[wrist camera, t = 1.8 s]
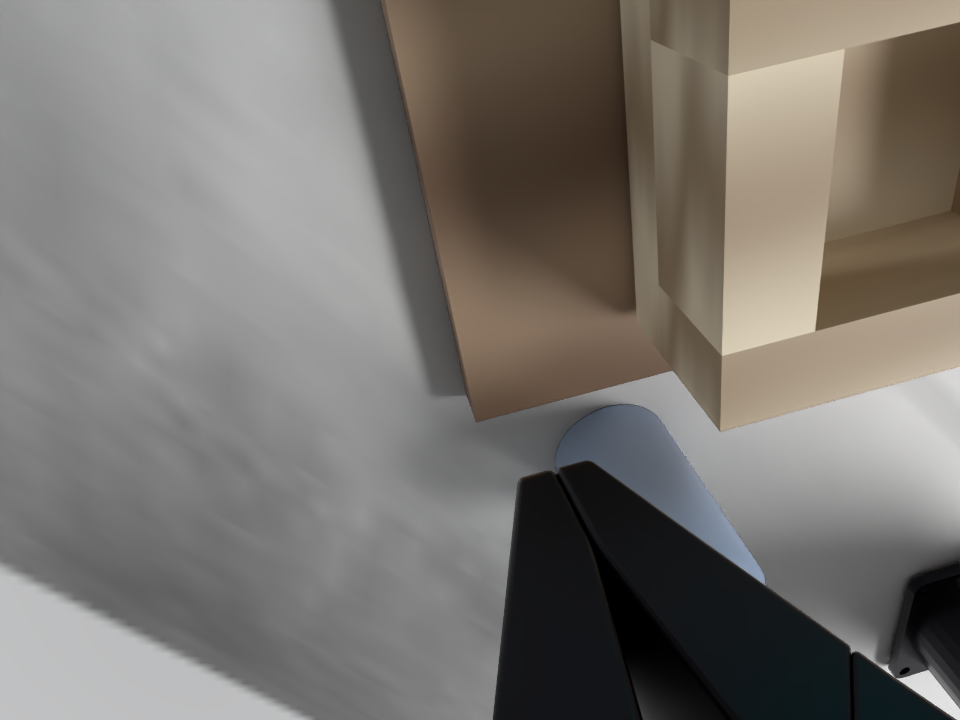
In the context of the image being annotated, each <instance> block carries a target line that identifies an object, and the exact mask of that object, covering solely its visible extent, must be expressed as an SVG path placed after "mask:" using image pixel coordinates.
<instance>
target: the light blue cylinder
mask: <svg viewBox="0 0 960 720" xmlns="http://www.w3.org/2000/svg"><path fill="white" fill-rule="evenodd" d="M585 460H588V461H592V462H594V463H595V464H597V465H598V466H600V467H601V468H602V469H604V470H605V471H607V472H608V473H609V474H611V475H612V476H614V477H615V478H616V479H618V480H619V481H620V482H622V483H623V484H625V485H626V486H627V487H629V488H630V489H632V490H633V491H634V492H636V493H637V494H639V495H640V496H641V497H643V498H644V499H646V500H647V501H648V502H650V503H651V504H653V505H654V506H655V507H657V508H658V509H660V510H661V511H662V512H664V513H665V514H667V515H668V516H669V517H671V518H672V519H674V520H675V521H676V522H678V523H679V524H680V525H682V526H683V527H685V528H686V529H687V530H689V531H690V532H692V533H693V534H694V535H696V536H697V537H699V538H700V539H701V540H703V541H704V542H706V543H707V544H708V545H710V546H711V547H713V548H714V549H715V550H717V551H718V552H720V553H721V554H722V555H724V556H725V557H727V558H728V559H729V560H731V561H732V562H734V563H735V564H736V565H738V566H739V567H741V568H742V569H743V570H745V571H746V572H747V573H749V574H750V575H752V576H753V577H754V578H756V579H757V580H759V581H760V582H761V583H763V584H764V585H765V577H764V574H763V572H762V570H761V568H760V567H759V565H758V564H757V562H756V561H755V559H754V558H753V556H752V555H751V553H750V552H749V550H748V549H747V547H746V546H745V544H744V543H743V541H742V540H741V539H740V537H739V536H738V534H737V533H736V531H735V530H734V528H733V527H732V525H731V524H730V522H729V521H728V519H727V518H726V516H725V515H724V513H723V512H722V510H721V509H720V507H719V506H718V505H717V503H716V502H715V500H714V499H713V497H712V496H711V494H710V493H709V491H708V490H707V488H706V487H705V485H704V484H703V482H702V481H701V479H700V478H699V476H698V475H697V473H696V472H695V470H694V469H693V468H692V466H691V465H690V463H689V462H688V460H687V459H686V457H685V456H684V454H683V453H682V451H681V450H680V448H679V447H678V445H677V444H676V442H675V441H674V439H673V438H672V436H671V435H670V434H669V432H668V431H667V429H666V428H665V426H664V425H663V423H662V422H661V420H660V419H659V418H658V417H657V416H656V415H655V414H654V413H653V412H651V411H650V410H648V409H646V408H643V407H640V406H636V405H614V406H609V407H605V408H602V409H599V410H597V411H595V412H592V413H591V414H589V415H587V416H585V417H584V418H582V419H581V420H579V421H578V422H577V423H576V424H575V425H573V426H572V428H571V429H570V430H569V431H568V432H567V433H566V434H565V436H564V437H563V439H562V441H561V442H560V444H559V447H558V449H557V453H556V458H555V467H556V470H557V469H558V468H560V467H562V466H566V465H570V464H573V463H577V462H581V461H585Z"/></svg>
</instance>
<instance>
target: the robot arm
mask: <svg viewBox="0 0 960 720" xmlns="http://www.w3.org/2000/svg"><path fill="white" fill-rule="evenodd" d="M888 669H889V670H890V671H891V673H892V674H893V675H894V677H895V678H894V677H893V676H892V675H890V674H889V673H887V672H886V671H885V670H883V669H882V668H880V667H879V666H878V665H876V664H875V663H873V662H872V661H871V660H869V659H868V658H867V657H865V656H864V655H862V654H861V653H860V652H857V651H855V652H853V653H852V654H851V648H850V646H849V645H848V644H847V643H845V642H844V641H842V640H841V639H840V638H838V637H837V636H835V635H834V634H833V633H831V632H830V631H828V630H827V629H826V628H824V627H823V626H821V625H820V624H819V623H817V622H816V621H814V620H813V619H812V618H810V617H809V616H807V615H806V614H805V613H803V612H802V611H801V610H799V609H798V608H796V607H795V606H794V605H792V604H791V603H789V602H788V601H787V600H785V599H784V598H782V597H781V596H780V595H778V594H777V593H775V592H774V591H773V590H771V589H770V588H768V587H767V586H766V585H764V584H763V583H761V582H760V581H759V580H757V579H756V578H754V577H753V576H752V575H750V574H749V573H747V572H746V571H745V570H743V569H742V568H741V567H739V566H738V565H736V564H735V563H734V562H732V561H731V560H729V559H728V558H727V557H725V556H724V555H722V554H721V553H720V552H718V551H717V550H715V549H714V548H713V547H711V546H710V545H708V544H707V543H706V542H704V541H703V540H701V539H700V538H699V537H697V536H696V535H694V534H693V533H692V532H690V531H689V530H687V529H686V528H685V527H683V526H682V525H680V524H679V523H678V522H676V521H675V520H674V519H672V518H671V517H669V516H668V515H667V514H665V513H664V512H662V511H661V510H660V509H658V508H657V507H655V506H654V505H653V504H651V503H650V502H648V501H647V500H646V499H644V498H643V497H641V496H640V495H639V494H637V493H636V492H634V491H633V490H632V489H630V488H629V487H627V486H626V485H625V484H623V483H622V482H620V481H619V480H618V479H616V478H615V477H614V476H612V475H611V474H609V473H608V472H607V471H605V470H604V469H602V468H601V467H600V466H598V465H597V464H595V463H594V462H592V461H588V460H585V461H581V462H577V463H573V464H570V465H566V466H562V467H560V468H558V469H557V470H556V472H555V473H553V472H552V471H544V472H540V473H537V474H533V475H529V476H526V477H523V478H521V479H520V480H519V481H518V484H517V493H516V502H515V512H514V522H513V531H512V541H511V550H510V560H509V570H508V579H507V589H506V598H505V608H504V617H503V627H502V637H501V646H500V656H499V665H498V675H497V685H496V694H495V704H494V713H493V720H956V719H955V718H953V717H951V716H950V715H949V714H947V713H946V712H944V711H943V710H941V709H940V708H938V707H937V706H935V705H934V704H932V703H931V702H930V701H928V700H927V699H925V698H924V697H922V696H921V695H919V694H918V693H916V692H915V691H913V690H912V689H910V688H909V687H908V686H906V685H905V684H903V683H902V682H900V681H899V680H897V679H896V678H903V677H907V676H910V675H913V674H916V673H920V672H923V671H926V670H929V671H930V672H931V673H932V675H933V676H934V677H935V678H936V680H937V681H938V682H939V683H940V685H941V686H942V687H943V688H944V690H945V691H946V692H947V693H948V695H949V696H950V697H951V698H952V700H953V701H954V702H955V703H956V705H957V706H958V707H959V708H960V564H959V565H956V566H952V567H949V568H946V569H942V570H939V571H935V572H932V573H929V574H925V575H922V576H919V577H917V578H915V579H914V580H912V582H911V583H910V584H909V586H908V588H907V592H906V596H905V600H904V604H903V608H902V612H901V617H900V621H899V625H898V629H897V633H896V637H895V641H894V645H893V649H892V653H891V657H890V662H889V666H888Z"/></svg>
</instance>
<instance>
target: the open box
mask: <svg viewBox="0 0 960 720" xmlns="http://www.w3.org/2000/svg"><path fill="white" fill-rule="evenodd" d="M620 12H621V31H622V50H623V69H624V87H625V106H626V125H627V144H628V163H629V181H630V200H631V219H632V238H633V256H634V275H635V294H636V313H637V324H638V325H639V327H640V328H641V329H642V331H643V332H644V333H645V335H646V336H647V337H648V339H649V340H650V341H651V342H652V344H653V345H654V346H655V348H656V349H657V350H658V352H659V353H660V354H661V355H662V357H663V358H664V359H665V361H666V362H667V363H668V365H669V366H670V367H671V368H672V370H673V371H674V372H675V374H676V375H677V376H678V378H679V379H680V380H681V381H682V383H683V384H684V385H685V387H686V388H687V389H688V391H689V392H690V393H691V395H692V396H693V397H694V398H695V400H696V401H697V402H698V404H699V405H700V406H701V408H702V409H703V410H704V411H705V413H706V414H707V415H708V417H709V418H710V419H711V421H712V422H713V423H714V424H715V426H716V427H717V428H718V430H719V431H720V432H722V431H725V430H729V429H733V428H736V427H740V426H744V425H747V424H751V423H755V422H758V421H762V420H766V419H769V418H773V417H777V416H780V415H784V414H788V413H791V412H795V411H799V410H802V409H806V408H810V407H813V406H817V405H821V404H824V403H828V402H832V401H835V400H839V399H843V398H846V397H850V396H854V395H857V394H861V393H865V392H868V391H872V390H876V389H879V388H883V387H887V386H890V385H894V384H898V383H901V382H905V381H909V380H912V379H916V378H920V377H923V376H927V375H931V374H934V373H938V372H942V371H945V370H949V369H953V368H956V367H960V0H620Z"/></svg>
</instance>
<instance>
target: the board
mask: <svg viewBox="0 0 960 720" xmlns="http://www.w3.org/2000/svg"><path fill="white" fill-rule="evenodd" d="M381 4H382V9H383V13H384V18H385V23H386V27H387V32H388V36H389V41H390V46H391V50H392V55H393V59H394V64H395V68H396V73H397V78H398V82H399V87H400V91H401V96H402V100H403V105H404V110H405V114H406V119H407V123H408V128H409V132H410V137H411V142H412V146H413V151H414V155H415V160H416V165H417V169H418V174H419V178H420V183H421V187H422V192H423V197H424V201H425V206H426V210H427V215H428V219H429V224H430V229H431V233H432V238H433V242H434V247H435V251H436V256H437V261H438V265H439V270H440V274H441V279H442V284H443V288H444V293H445V297H446V302H447V306H448V311H449V316H450V320H451V325H452V329H453V334H454V338H455V343H456V348H457V352H458V357H459V361H460V366H461V371H462V375H463V380H464V384H465V389H466V393H467V398H468V401H469V403H470V406H471V409H472V412H473V415H474V418H475V421H476V422H479V421H483V420H487V419H491V418H494V417H498V416H502V415H506V414H510V413H513V412H517V411H521V410H525V409H529V408H532V407H536V406H540V405H544V404H547V403H551V402H555V401H559V400H563V399H566V398H570V397H574V396H578V395H581V394H585V393H589V392H593V391H597V390H600V389H604V388H608V387H612V386H616V385H619V384H623V383H627V382H631V381H634V380H638V379H642V378H646V377H650V376H653V375H657V374H661V373H665V372H668V371H672V368H671V367H670V366H669V365H668V363H667V362H666V361H665V359H664V358H663V357H662V355H661V354H660V353H659V352H658V350H657V349H656V348H655V346H654V345H653V344H652V342H651V341H650V340H649V339H648V337H647V336H646V335H645V333H644V332H643V331H642V329H641V328H640V327H639V325H638V324H637V313H636V294H635V275H634V256H633V238H632V219H631V200H630V181H629V163H628V144H627V125H626V106H625V87H624V69H623V50H622V31H621V12H620V0H381Z"/></svg>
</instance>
